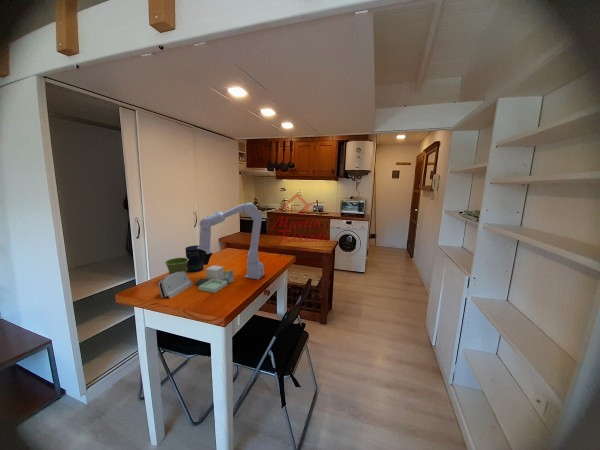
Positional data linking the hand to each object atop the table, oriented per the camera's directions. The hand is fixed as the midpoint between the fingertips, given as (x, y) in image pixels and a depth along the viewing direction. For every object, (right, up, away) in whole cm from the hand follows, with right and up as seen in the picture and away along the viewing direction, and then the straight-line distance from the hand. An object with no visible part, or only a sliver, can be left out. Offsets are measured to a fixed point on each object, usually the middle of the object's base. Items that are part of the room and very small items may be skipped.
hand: (203, 262), depth 126 cm
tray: (+9, -12, -8) cm, 17 cm away
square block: (+1, -12, -4) cm, 12 cm away
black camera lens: (-13, -8, +17) cm, 22 cm away
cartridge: (+14, -11, -1) cm, 18 cm away
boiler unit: (+6, -10, +2) cm, 12 cm away
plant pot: (-15, -10, +2) cm, 19 cm away
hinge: (-10, -13, -11) cm, 20 cm away
